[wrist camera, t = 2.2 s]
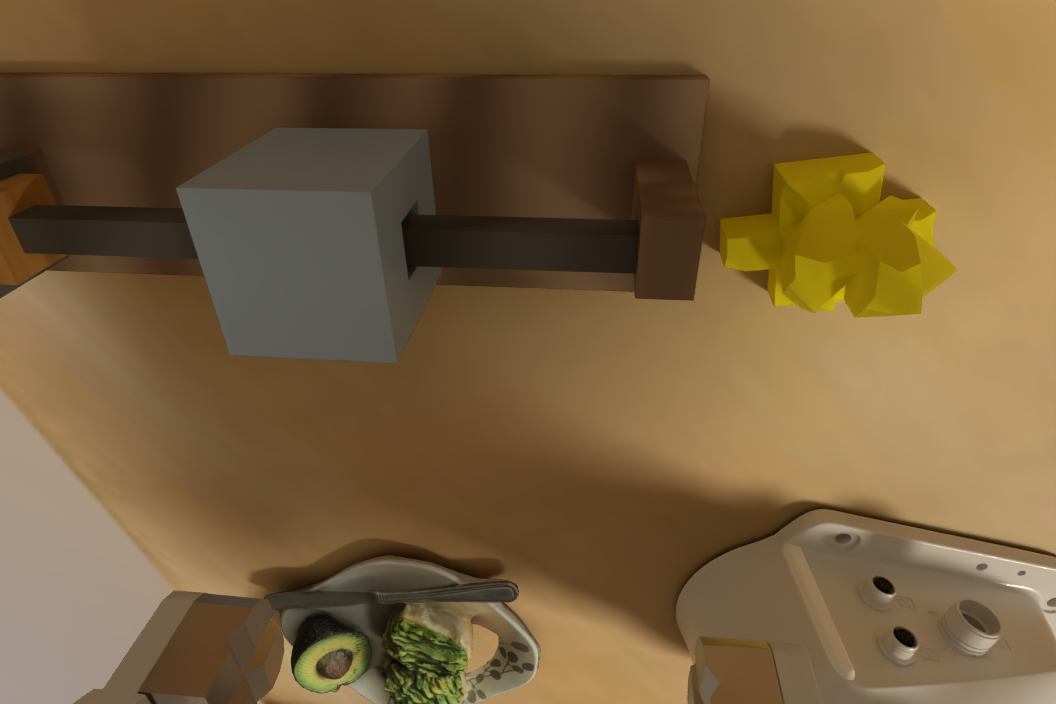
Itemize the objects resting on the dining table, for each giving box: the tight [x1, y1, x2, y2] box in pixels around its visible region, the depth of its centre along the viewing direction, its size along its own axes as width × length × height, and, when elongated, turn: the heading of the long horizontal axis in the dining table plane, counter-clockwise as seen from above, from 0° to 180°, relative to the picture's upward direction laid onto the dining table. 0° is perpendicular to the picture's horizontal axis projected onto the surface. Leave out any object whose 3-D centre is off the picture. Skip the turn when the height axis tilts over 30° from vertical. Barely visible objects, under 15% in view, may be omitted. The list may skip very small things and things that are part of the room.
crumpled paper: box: [719, 152, 958, 317], centre depth 24 cm, size 6×8×8 cm
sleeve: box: [176, 128, 441, 363], centre depth 23 cm, size 6×6×7 cm
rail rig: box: [0, 73, 709, 301], centre depth 25 cm, size 31×9×8 cm, turn 91°
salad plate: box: [264, 555, 541, 704], centre depth 45 cm, size 19×18×5 cm
